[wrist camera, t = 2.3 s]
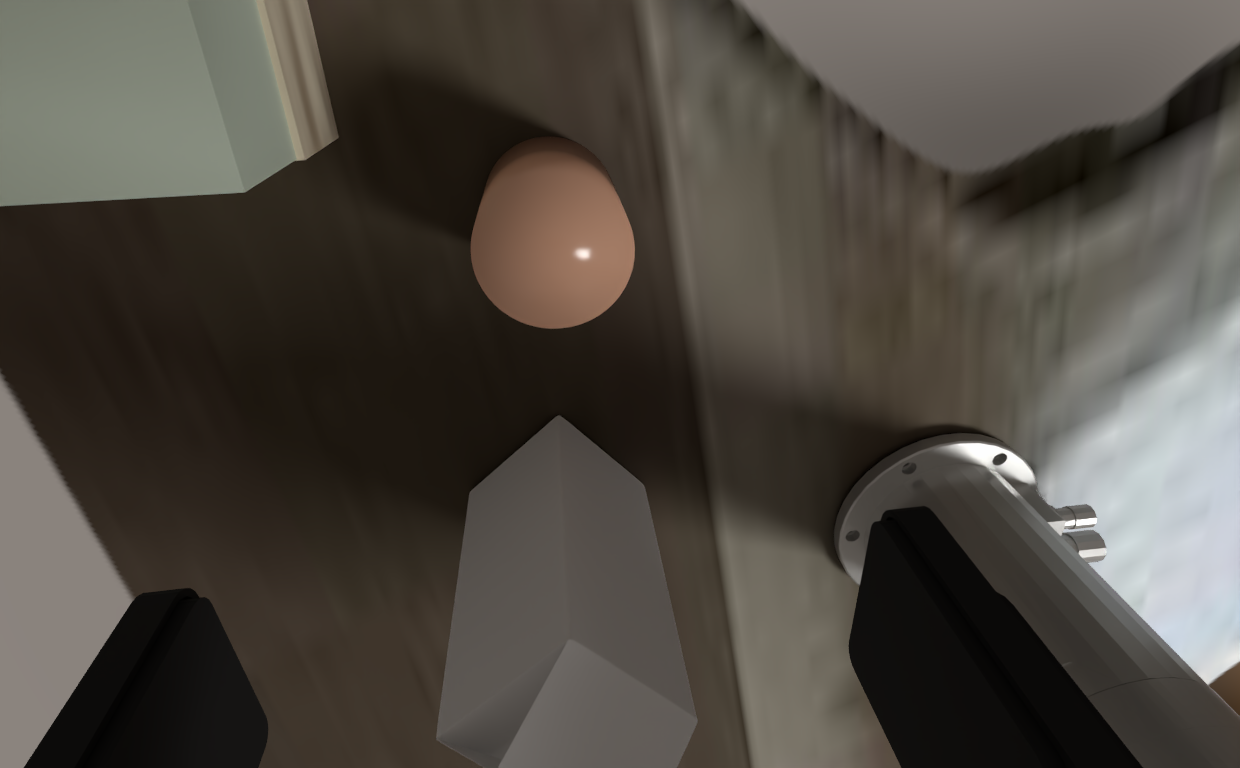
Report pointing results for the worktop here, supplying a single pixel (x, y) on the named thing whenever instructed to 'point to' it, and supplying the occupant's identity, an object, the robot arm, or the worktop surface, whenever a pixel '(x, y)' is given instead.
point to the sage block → (136, 100)
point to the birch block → (299, 74)
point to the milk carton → (563, 619)
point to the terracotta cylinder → (551, 235)
